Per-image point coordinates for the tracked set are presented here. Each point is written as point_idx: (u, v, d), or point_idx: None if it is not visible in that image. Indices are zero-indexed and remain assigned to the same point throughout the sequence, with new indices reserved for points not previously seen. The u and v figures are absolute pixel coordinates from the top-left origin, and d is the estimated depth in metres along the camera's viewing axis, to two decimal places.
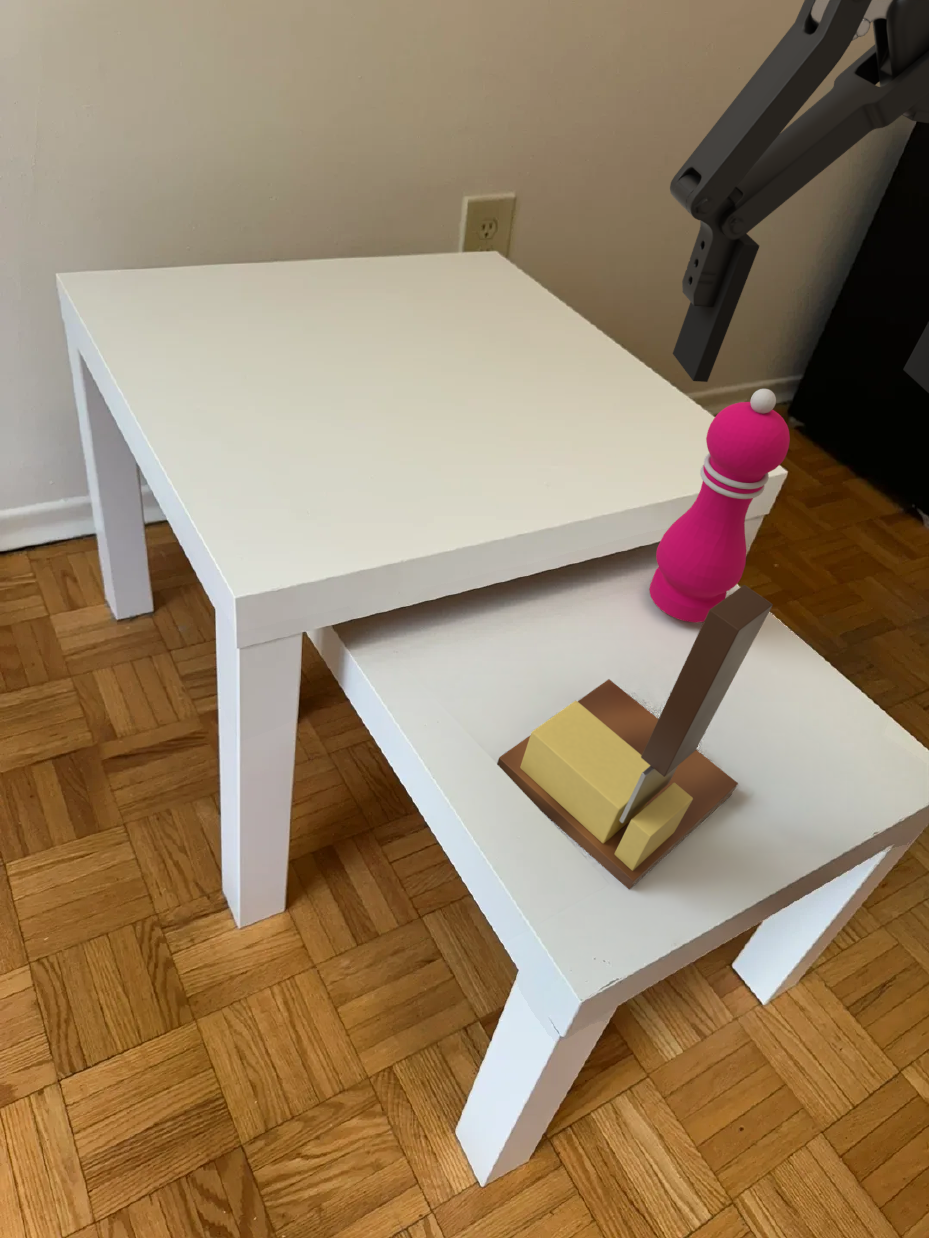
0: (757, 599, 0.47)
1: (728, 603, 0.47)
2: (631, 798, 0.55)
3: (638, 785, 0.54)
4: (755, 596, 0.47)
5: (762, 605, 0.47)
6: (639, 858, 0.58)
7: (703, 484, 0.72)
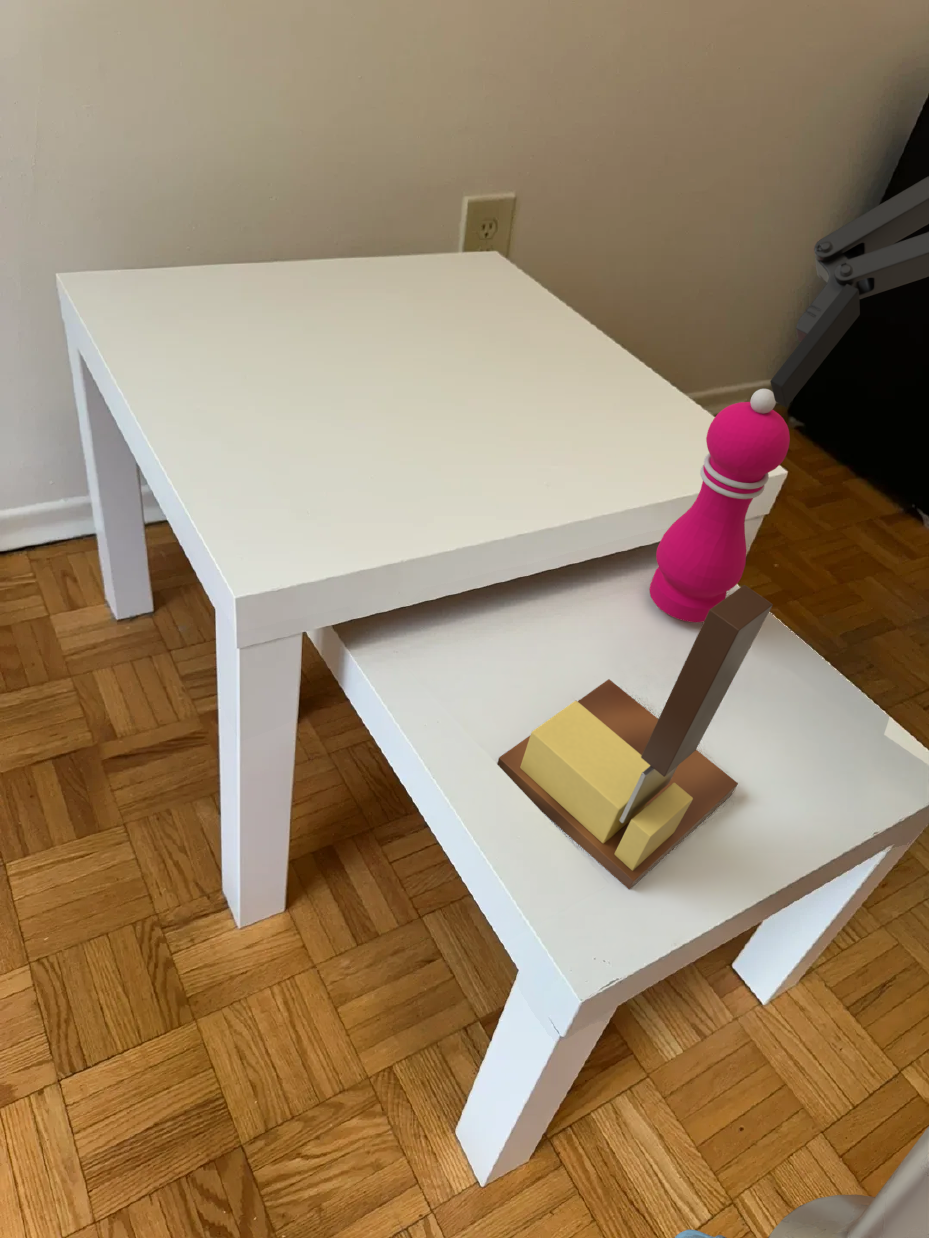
0: (757, 599, 0.47)
1: (728, 603, 0.47)
2: (631, 798, 0.55)
3: (638, 785, 0.54)
4: (755, 596, 0.47)
5: (762, 605, 0.47)
6: (639, 858, 0.58)
7: (703, 484, 0.72)
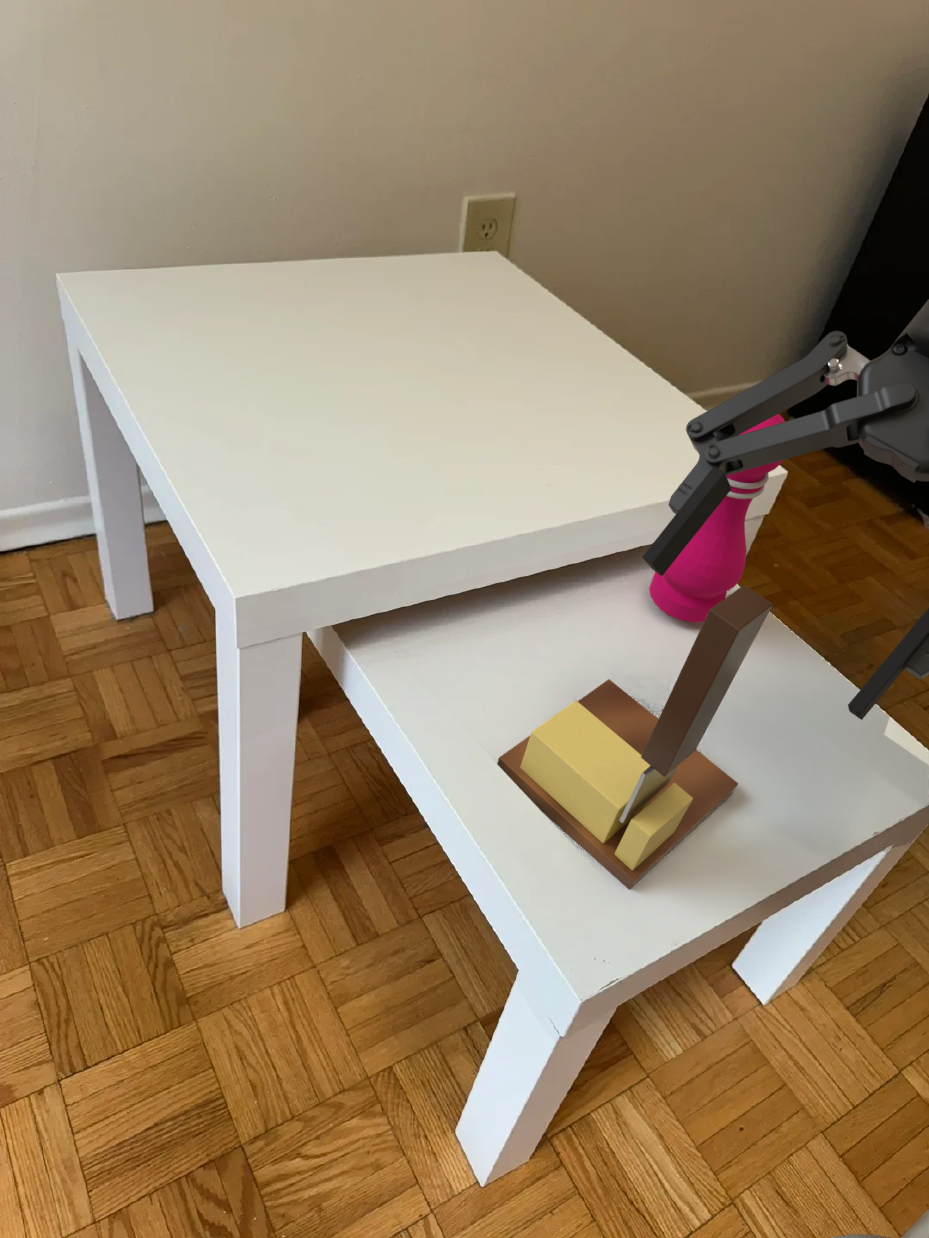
0: (757, 599, 0.47)
1: (728, 603, 0.47)
2: (631, 798, 0.55)
3: (638, 785, 0.54)
4: (755, 596, 0.47)
5: (762, 605, 0.47)
6: (639, 858, 0.58)
7: None
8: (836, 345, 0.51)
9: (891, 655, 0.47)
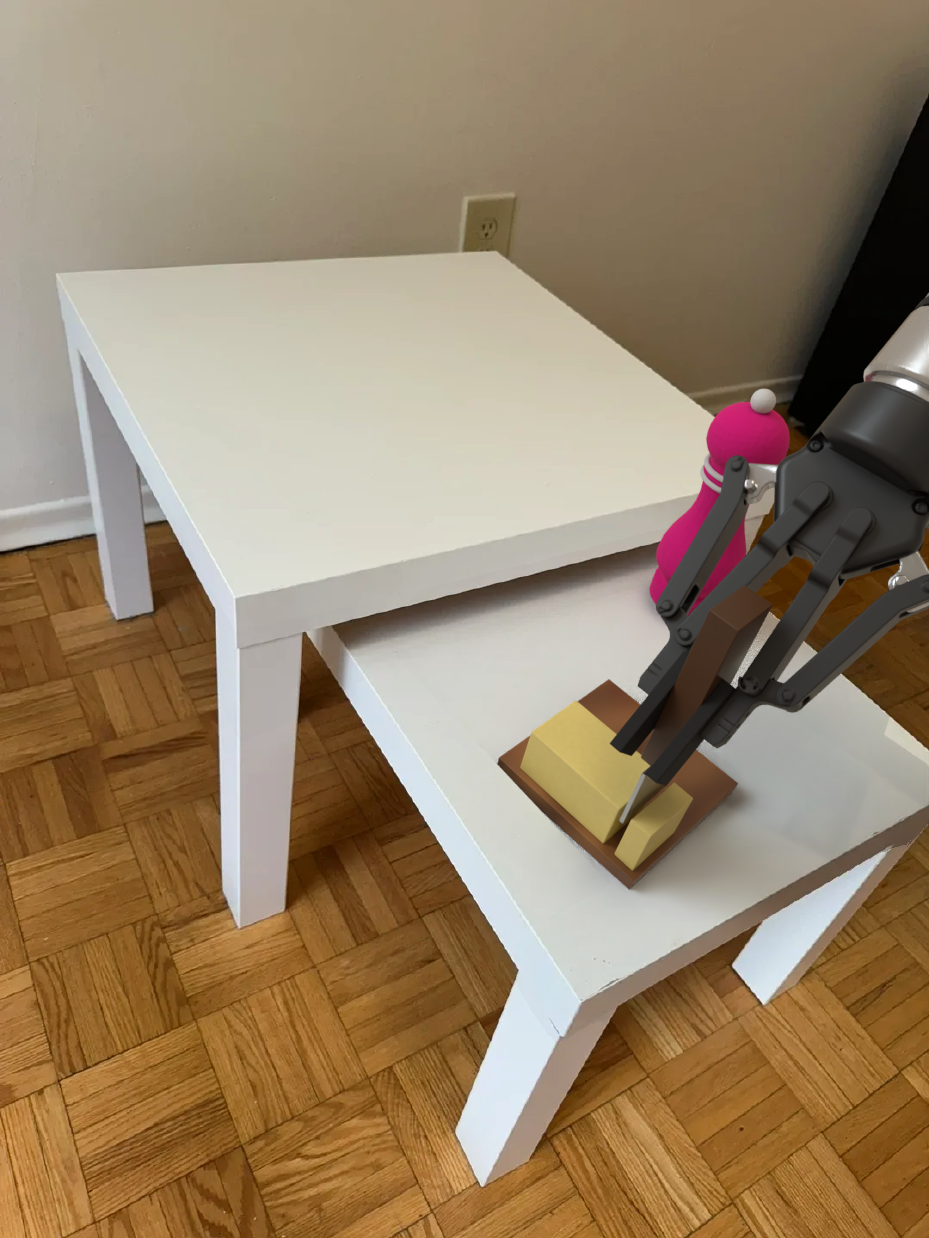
0: (756, 599, 0.47)
1: (728, 603, 0.47)
2: (631, 798, 0.55)
3: (638, 785, 0.54)
4: (755, 597, 0.47)
5: (762, 605, 0.47)
6: (639, 858, 0.58)
7: (703, 484, 0.72)
8: (740, 468, 0.51)
9: (685, 727, 0.49)
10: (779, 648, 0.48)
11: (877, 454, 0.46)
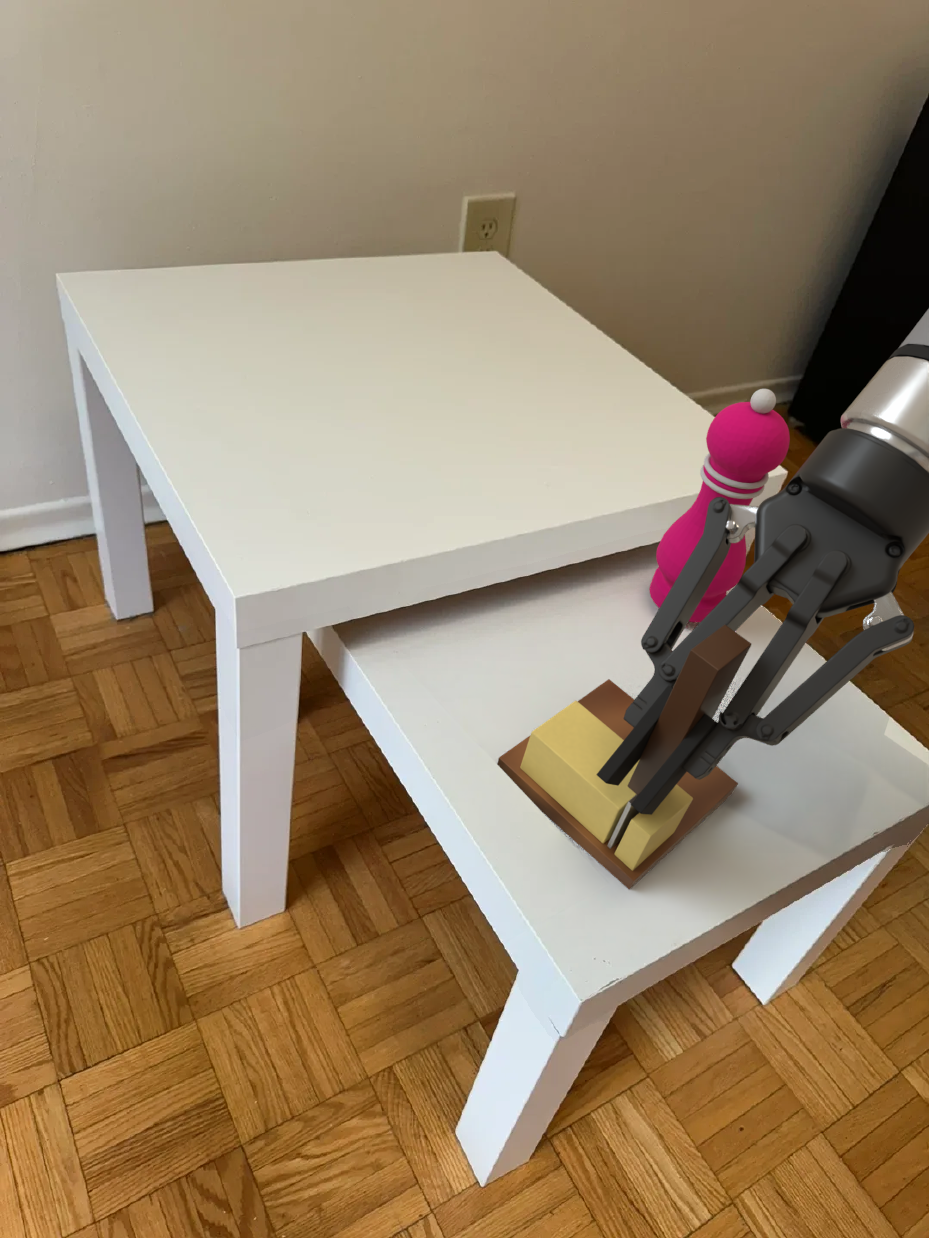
0: (736, 639, 0.49)
1: (709, 643, 0.49)
2: (618, 825, 0.57)
3: (625, 813, 0.56)
4: (735, 636, 0.49)
5: (741, 645, 0.49)
6: (639, 858, 0.58)
7: (703, 484, 0.72)
8: (722, 509, 0.53)
9: (668, 759, 0.51)
10: (758, 684, 0.50)
11: (851, 501, 0.48)
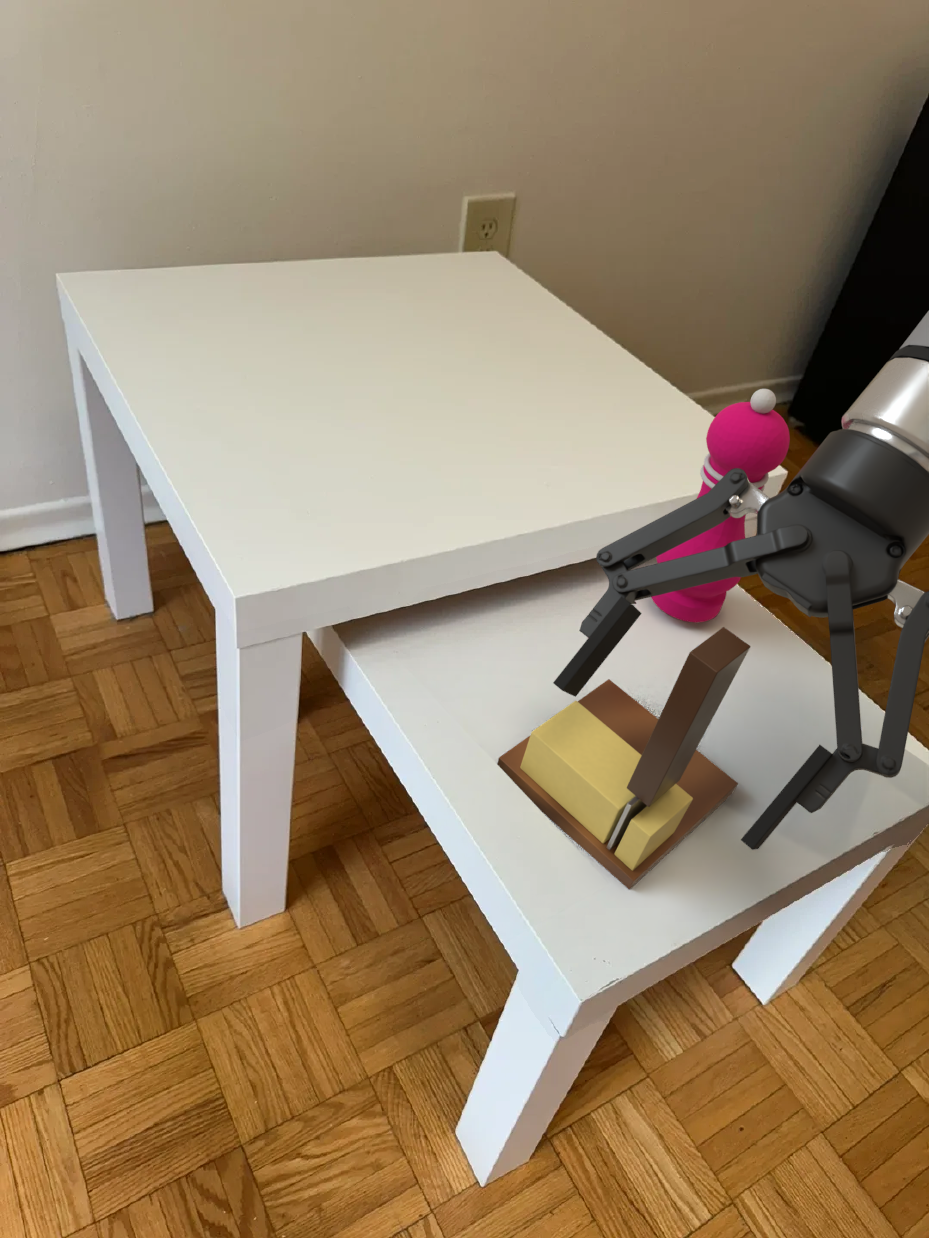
0: (735, 641, 0.49)
1: (708, 645, 0.49)
2: (617, 827, 0.57)
3: (624, 815, 0.57)
4: (734, 638, 0.49)
5: (740, 647, 0.49)
6: (639, 858, 0.58)
7: (703, 484, 0.72)
8: (736, 482, 0.53)
9: (781, 793, 0.49)
10: (850, 705, 0.48)
11: (853, 501, 0.48)
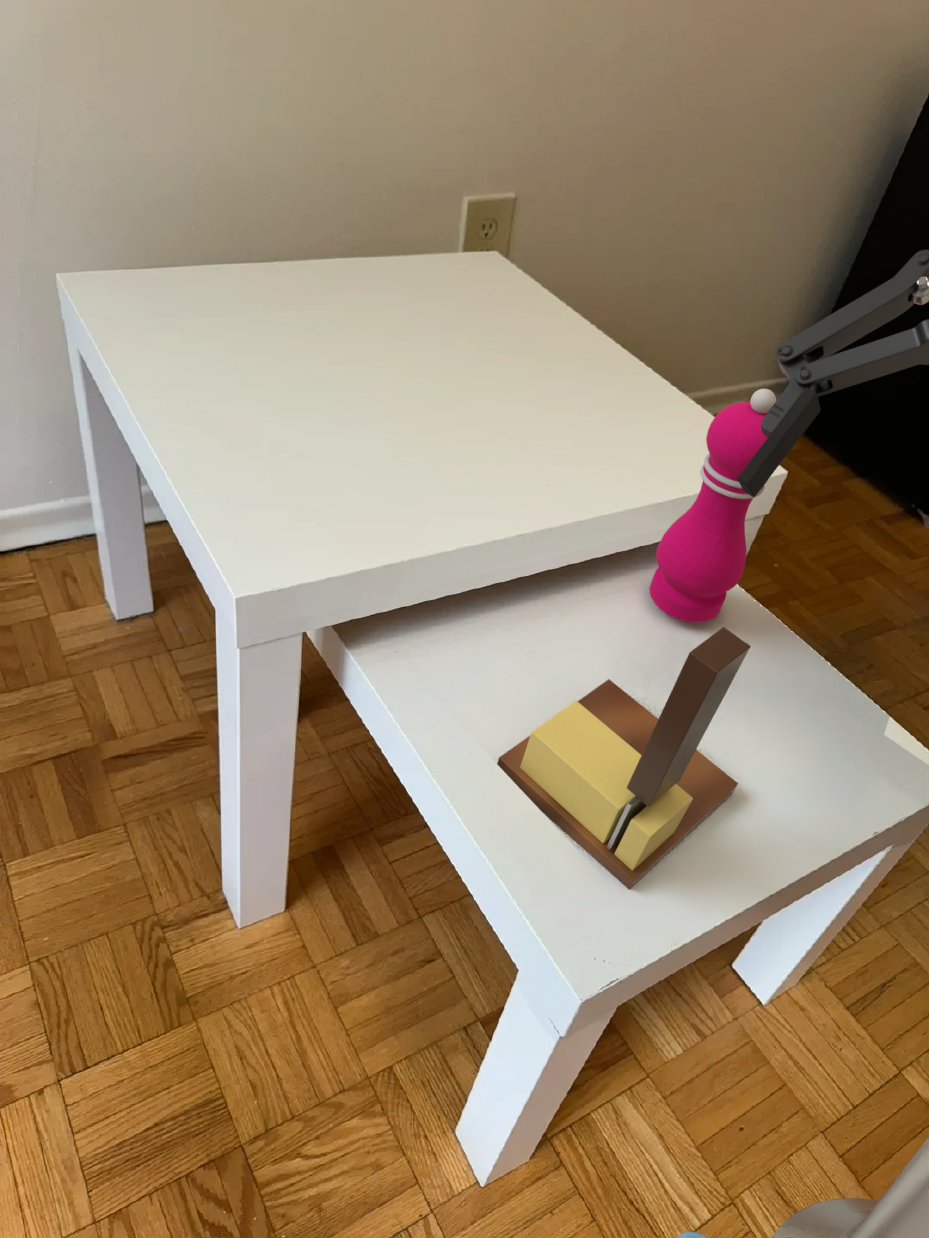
0: (735, 641, 0.49)
1: (708, 645, 0.49)
2: (617, 827, 0.57)
3: (624, 815, 0.57)
4: (734, 638, 0.49)
5: (740, 647, 0.49)
6: (639, 858, 0.58)
7: (703, 484, 0.72)
8: (925, 264, 0.53)
9: None
10: None
11: None
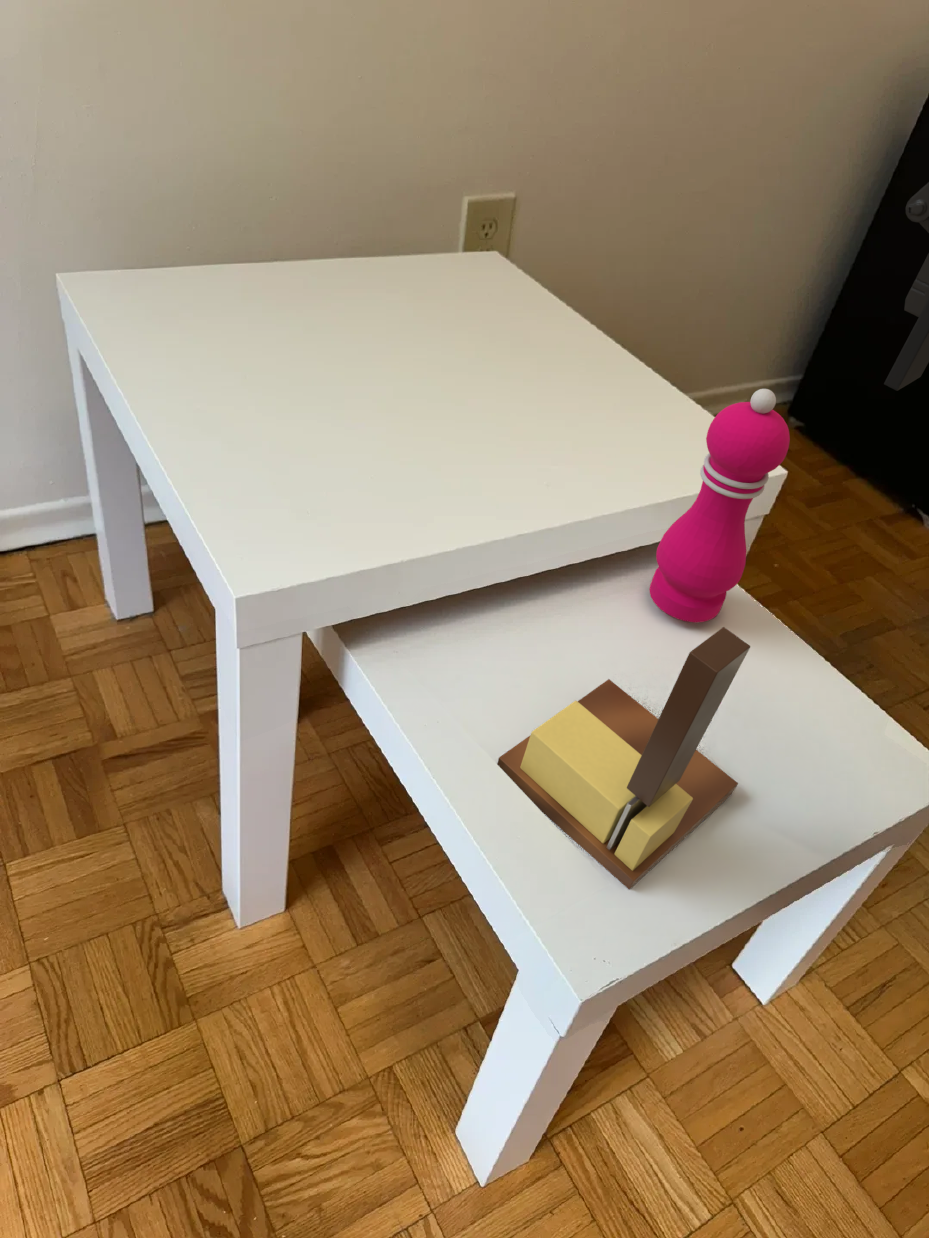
0: (735, 641, 0.49)
1: (708, 645, 0.49)
2: (617, 827, 0.57)
3: (624, 815, 0.57)
4: (734, 638, 0.49)
5: (740, 647, 0.49)
6: (639, 858, 0.58)
7: (703, 484, 0.72)
8: None
9: None
10: None
11: None
